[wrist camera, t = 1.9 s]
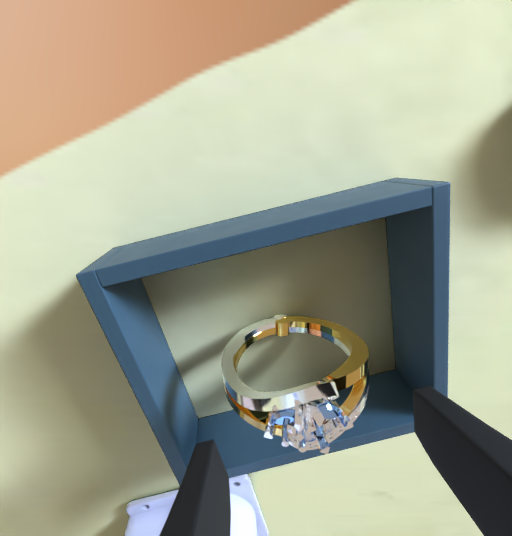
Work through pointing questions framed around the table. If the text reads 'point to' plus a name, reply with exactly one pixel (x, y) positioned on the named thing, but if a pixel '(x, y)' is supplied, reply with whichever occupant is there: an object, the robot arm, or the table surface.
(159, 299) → the table surface
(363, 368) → the ring
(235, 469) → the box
